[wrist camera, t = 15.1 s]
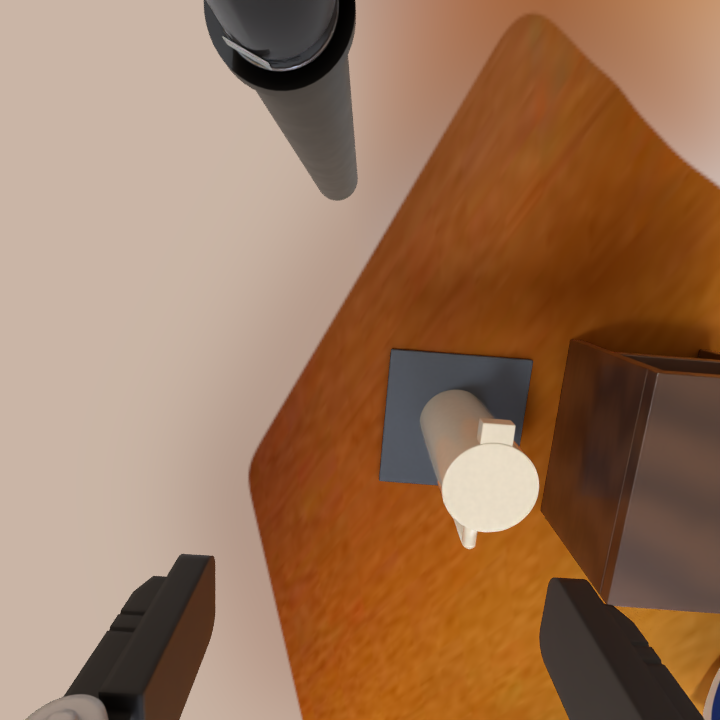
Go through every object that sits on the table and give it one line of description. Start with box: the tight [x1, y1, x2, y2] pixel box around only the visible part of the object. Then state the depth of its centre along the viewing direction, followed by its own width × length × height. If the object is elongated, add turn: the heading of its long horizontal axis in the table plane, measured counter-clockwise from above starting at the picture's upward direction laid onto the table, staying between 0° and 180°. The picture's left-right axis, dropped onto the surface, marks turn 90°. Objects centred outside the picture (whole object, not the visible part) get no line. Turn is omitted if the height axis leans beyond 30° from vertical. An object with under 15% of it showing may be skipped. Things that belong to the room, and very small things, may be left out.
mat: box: [379, 349, 533, 485], centre depth 41 cm, size 12×12×1 cm
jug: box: [420, 390, 539, 549], centre depth 35 cm, size 10×6×12 cm, turn 176°
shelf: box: [541, 339, 720, 614], centre depth 35 cm, size 16×12×12 cm
